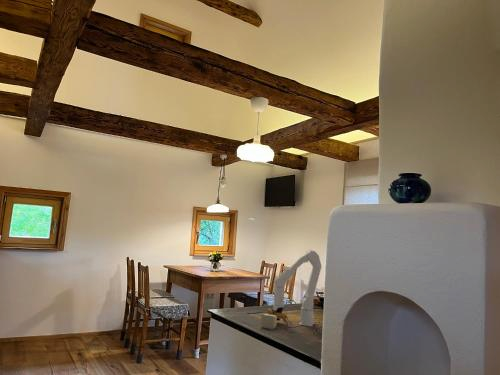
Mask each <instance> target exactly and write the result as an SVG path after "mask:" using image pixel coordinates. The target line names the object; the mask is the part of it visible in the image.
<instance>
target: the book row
mask: <svg viewBox="0 0 500 375" xmlns="http://www.w3.org/2000/svg"><path fill="white" fill-rule="evenodd" d="M260 320H261V321H260V322H261V323H260V328H265V329H271V330H273V329H275V328H277V321H278V320H277V315H270V314H267V313H264V314H261V317H260Z"/></svg>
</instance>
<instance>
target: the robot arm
mask: <svg viewBox="0 0 500 375" xmlns="http://www.w3.org/2000/svg"><path fill="white" fill-rule="evenodd" d="M305 263H310V264H311V266H312V269H311V272H310V276H309V279H308V283H307V286H306V291H305V293H304V294H303V296H302V298H301V300H300V305H301V307H300V322H299V323H298V325H299V326H306V327H313V326H314V325H315V323H316V321H314V314H315V313H314V306H315V304H314V303H315V302H314V300H315V292H316V289H317V284H318V280H319V276H320V273H321V270H322V263H321V259H320V255H319V253H317V252H316V251H315V250H313V249H309V250H307V251H305V253H302V254H301V256H299V258H298V259H297V260H296V261H295V262H294V263H293V264H292V265H291V266H290V267H286V268H284V269H283V271H282V272H281V273H280V274H278V276H277V277H275V278H274V281H273V282H274V291H273V292H274V294H273V295H274V296H273V303H271V305H272V306H273V307H272V309H273V310H275V311H277V312H278V313H283V311H284V296H285V290H284V287H285V284H286V282H287V283H288V281H289V280H290V279H291V278H292V277H293V276H294V274H295V271H296V270H298V268H300V267H301V266H302V265H303V264H305ZM277 321H281V319H277Z"/></svg>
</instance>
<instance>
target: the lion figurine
mask: <svg viewBox="0 0 500 375" xmlns="http://www.w3.org/2000/svg"><path fill="white" fill-rule="evenodd" d="M266 314H270V315H277V319H280V320H281V319H282V321H283V323H284V324H285V326H286V327H288V326H289V325H292V324H293V323H292V321H291V322H290V320H289V318H288V315H287V314H286V313H284V312H282V313H278V312H277V311H275V310H273V308H270V307H269V308H267V310H266Z"/></svg>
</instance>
